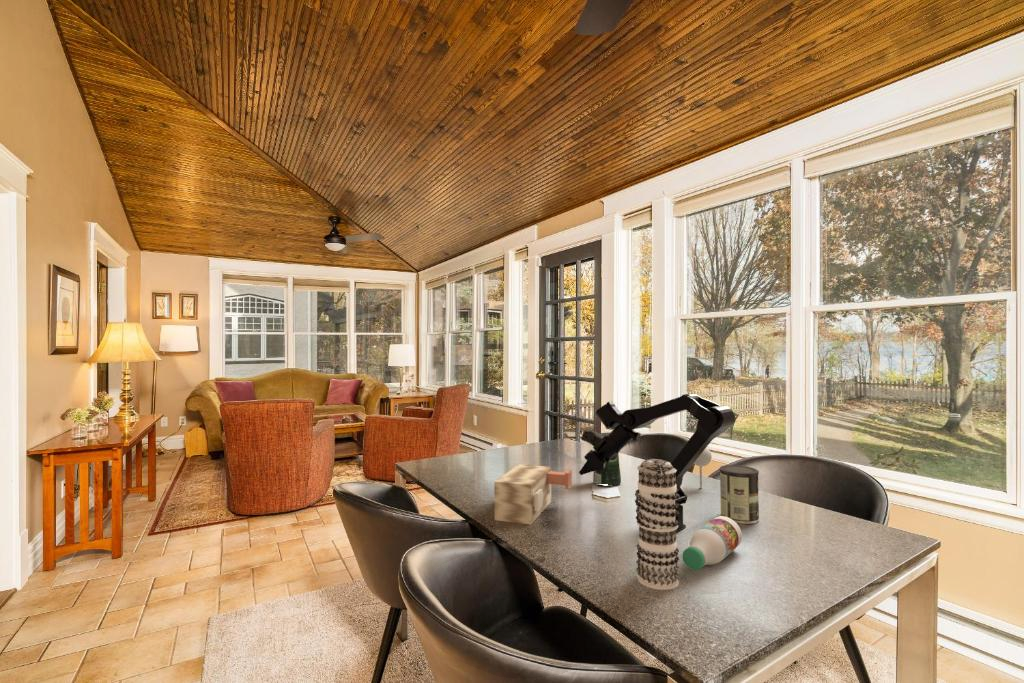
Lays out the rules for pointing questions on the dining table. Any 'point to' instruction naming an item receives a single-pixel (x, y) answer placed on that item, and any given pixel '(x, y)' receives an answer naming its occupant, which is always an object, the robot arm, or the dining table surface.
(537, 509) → the cream plug
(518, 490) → the socket block
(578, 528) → the dining table surface
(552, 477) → the terracotta plug
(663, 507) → the decorative candle
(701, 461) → the lollipop
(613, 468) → the coffee jar
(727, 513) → the coffee can
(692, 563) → the milk bottle
